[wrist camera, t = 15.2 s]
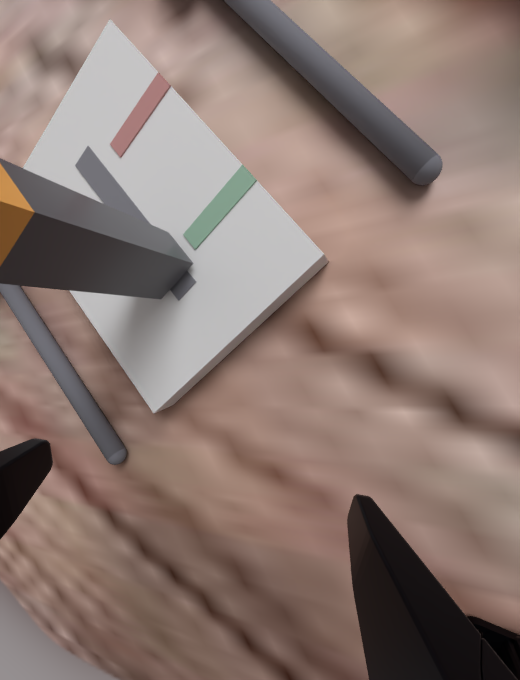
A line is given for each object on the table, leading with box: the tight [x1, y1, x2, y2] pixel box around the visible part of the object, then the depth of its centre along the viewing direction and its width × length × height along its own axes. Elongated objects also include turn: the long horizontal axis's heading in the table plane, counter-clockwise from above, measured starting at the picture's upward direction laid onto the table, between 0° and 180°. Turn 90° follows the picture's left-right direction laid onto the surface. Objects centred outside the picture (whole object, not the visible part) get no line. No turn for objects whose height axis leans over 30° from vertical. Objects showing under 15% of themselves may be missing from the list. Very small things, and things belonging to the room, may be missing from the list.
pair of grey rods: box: [0, 0, 442, 465], centre depth 20 cm, size 22×28×2 cm
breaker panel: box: [23, 20, 329, 413], centre depth 20 cm, size 20×14×2 cm
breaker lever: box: [0, 159, 193, 299], centre depth 13 cm, size 2×3×10 cm
